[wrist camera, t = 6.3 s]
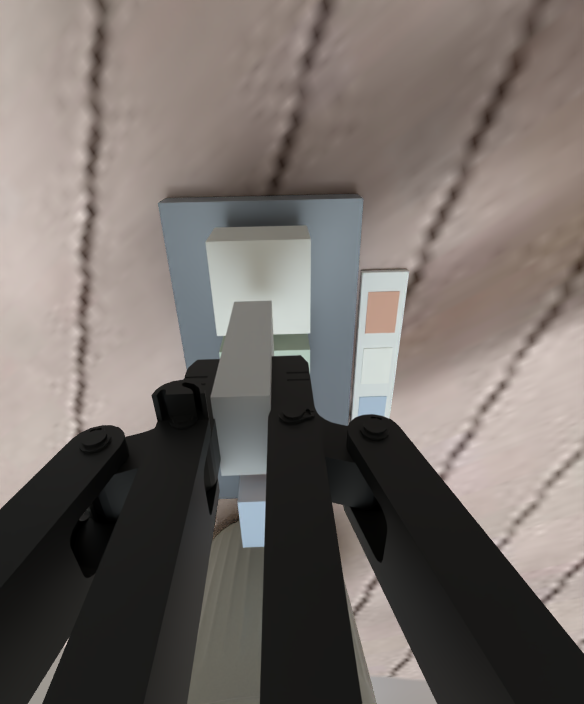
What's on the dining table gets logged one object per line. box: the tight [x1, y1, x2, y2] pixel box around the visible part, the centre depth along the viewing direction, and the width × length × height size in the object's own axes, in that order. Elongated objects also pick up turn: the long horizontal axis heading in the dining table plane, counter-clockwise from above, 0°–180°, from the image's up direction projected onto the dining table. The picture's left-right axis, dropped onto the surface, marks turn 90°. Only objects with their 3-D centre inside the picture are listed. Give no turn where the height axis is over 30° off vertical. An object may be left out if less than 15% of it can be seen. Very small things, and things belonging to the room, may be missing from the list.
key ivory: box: [205, 225, 311, 336], centre depth 21 cm, size 5×5×3 cm
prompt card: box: [350, 269, 409, 422], centre depth 31 cm, size 15×3×1 cm, turn 1°
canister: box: [187, 520, 376, 704], centre depth 33 cm, size 18×18×21 cm
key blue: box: [237, 474, 266, 548], centre depth 30 cm, size 5×5×3 cm
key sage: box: [219, 333, 310, 373], centre depth 24 cm, size 5×5×3 cm
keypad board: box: [158, 194, 363, 499], centre depth 29 cm, size 25×12×4 cm, turn 1°
